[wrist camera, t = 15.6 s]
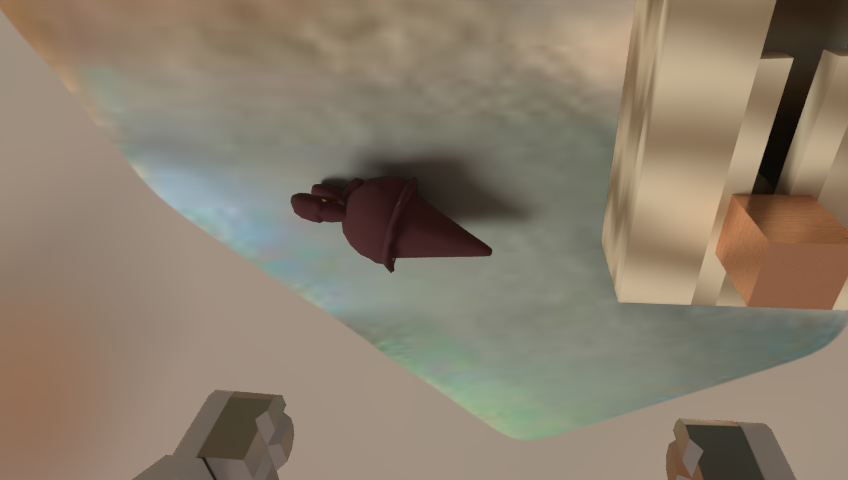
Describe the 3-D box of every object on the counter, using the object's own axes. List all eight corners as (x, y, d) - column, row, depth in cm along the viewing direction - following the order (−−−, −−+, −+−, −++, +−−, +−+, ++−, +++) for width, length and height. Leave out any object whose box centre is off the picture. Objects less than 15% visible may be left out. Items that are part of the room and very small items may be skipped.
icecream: (507, 219, 33) (291, 152, 34) (473, 316, 35) (273, 251, 36) (508, 195, 39) (327, 140, 40) (479, 279, 42) (309, 225, 43)
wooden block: (708, 164, 32) (770, 242, 24) (778, 164, 31) (863, 244, 24) (694, 219, 34) (747, 306, 26) (759, 220, 33) (831, 309, 26)
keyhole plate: (656, -138, 27) (700, -152, 21) (958, -165, 25) (1109, -190, 18) (601, 240, 40) (618, 302, 34) (796, 244, 38) (853, 310, 31)
